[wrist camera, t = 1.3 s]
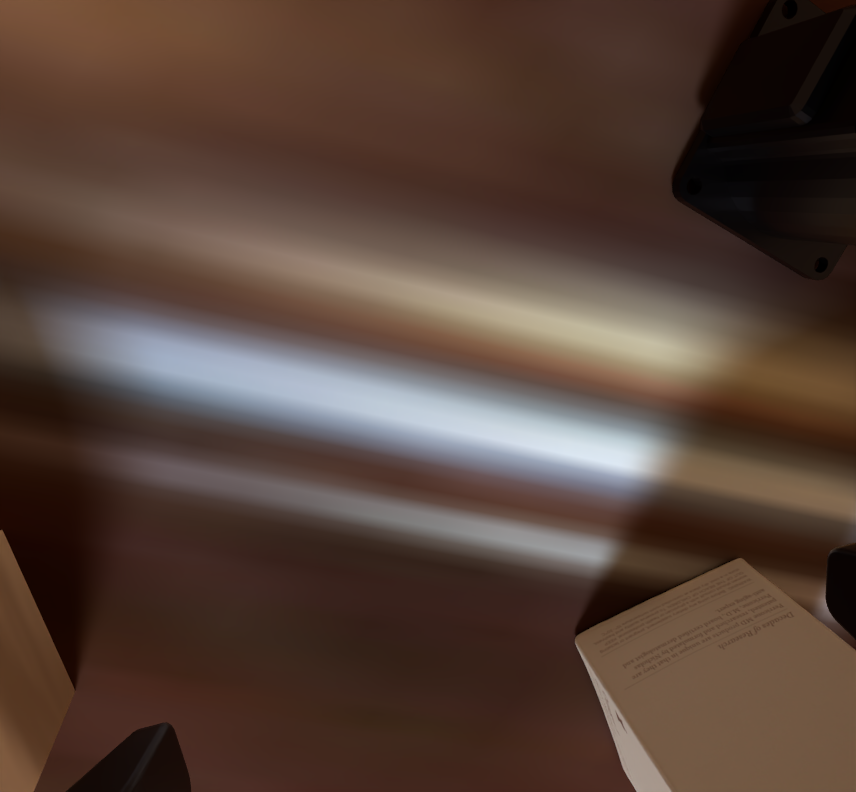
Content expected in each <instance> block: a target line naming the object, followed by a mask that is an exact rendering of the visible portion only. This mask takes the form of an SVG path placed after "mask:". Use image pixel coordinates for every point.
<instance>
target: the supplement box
mask: <svg viewBox="0 0 856 792" xmlns="http://www.w3.org/2000/svg"><path fill="white" fill-rule="evenodd" d="M575 644H576V646H577V648H578V650H579V653H580V655H581V657H582V659H583V661H584V663H585V666H586V668H587V670H588V673H589V675H590V677H591V680H592V682H593V685H594V687H595V690H596V692H597V695H598V698H599V700H600V703H601V706H602V708H603V711H604V714H605V716H606V719H607V722H608V725H609V728H610V730H611V733H612V736H613V739H614V742H615V745H616V748H617V751H618V754H619V757H620V760H621V764H622V767H623V769H624V771H625V773H626V774H627V776H628V778H629V780H630V781H631V783H632V784H633V786H634V788H635V789H636V791H637V792H856V650H855V649H853V648H852V647H851V646H850V645H848V644H847V643H846V642H845V641H843V640H842V639H841V638H840V637H839V636H837V635H836V634H835V633H834V632H833V631H831V630H830V629H829V628H827V627H826V626H825V625H824V624H822V623H821V622H820V621H819V620H817V619H816V618H815V617H814V616H812V615H811V614H810V613H809V612H808V611H806V610H805V609H804V608H803V607H801V606H800V605H799V604H798V603H796V602H795V601H794V600H793V599H792V598H790V597H789V596H788V595H787V594H786V593H784V592H783V591H782V590H780V589H779V588H778V587H777V586H776V585H774V584H773V583H772V582H770V581H769V580H768V579H766V578H765V577H764V576H763V575H761V574H760V573H759V572H758V571H756V570H755V569H754V568H753V567H752V566H750V565H749V564H748V563H747V562H746V561H745V560H744V559H742V558H737V559H735V560H733V561H731V562H728V563H726V564H724V565H722V566H720V567H718V568H715V569H713V570H711V571H709V572H707V573H705V574H702V575H700V576H698V577H696V578H694V579H692V580H690V581H688V582H686V583H684V584H681V585H679V586H677V587H675V588H673V589H671V590H669V591H667V592H665V593H663V594H660V595H658V596H656V597H654V598H651V599H649V600H647V601H645V602H643V603H641V604H639V605H637V606H635V607H633V608H631V609H629V610H627V611H624V612H622V613H620V614H618V615H616V616H614V617H612V618H610V619H608V620H606V621H604V622H601V623H599V624H597V625H595V626H593V627H591V628H589V629H588V630H586V631H584V632H582V633H580V634H579V635H577V636H576V638H575Z"/></svg>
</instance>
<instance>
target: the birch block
mask: <svg viewBox="0 0 856 792" xmlns="http://www.w3.org/2000/svg"><path fill="white" fill-rule="evenodd" d="M74 693H75V689H74V687H73V685H72V682H71V680H70V678H69V676H68V674H67V671H66V669H65V667H64V665H63V663H62V660H61V658H60V656H59V654H58V652H57V649H56V647H55V645H54V643H53V641H52V638H51V636H50V634H49V632H48V629H47V627H46V625H45V623H44V621H43V618H42V616H41V614H40V612H39V610H38V607H37V605H36V603H35V601H34V599H33V596H32V594H31V592H30V590H29V588H28V585H27V583H26V581H25V579H24V576H23V574H22V572H21V570H20V568H19V565H18V563H17V561H16V559H15V557H14V554H13V552H12V550H11V548H10V546H9V543H8V541H7V539H6V537H5V534H4V532H3V530H0V792H34V789H35V787H36V785H37V782H38V780H39V777H40V775H41V772H42V770H43V768H44V765H45V763H46V760H47V758H48V756H49V753H50V751H51V748H52V746H53V744H54V741H55V739H56V736H57V734H58V732H59V729H60V727H61V724H62V722H63V720H64V717H65V715H66V712H67V710H68V708H69V705H70V703H71V700H72V698H73V695H74Z"/></svg>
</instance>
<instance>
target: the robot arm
mask: <svg viewBox="0 0 856 792" xmlns="http://www.w3.org/2000/svg"><path fill="white" fill-rule="evenodd" d="M783 4H785V5H786V6H787V9H788V14H787V18H785V17H784V16H783V15H782V7H783ZM690 179H692V180H693V181H694V185H695V186H694V190H693V191H692V192H691V193H690V194H689V192H688V191H687V183H688V181H689V180H690ZM672 192H673V194H674V197H675V198H676V199H677V200H678V201H679V202H681V203H682V204H684V205H686V206H687V207H689V208H691V209H692V210H694V211H696V212H697V213H699V214H701V215H702V216H704V217H705V218H707V219H709V220H710V221H712V222H714V223H715V224H717V225H719V226H720V227H722V228H724V229H725V230H727V231H729V232H730V233H732V234H733V235H735V236H737V237H738V238H740V239H742V240H743V241H745V242H747V243H748V244H750V245H752V246H753V247H755V248H757V249H758V250H760V251H761V252H763V253H765V254H766V255H768V256H770V257H771V258H773V259H775V260H776V261H778V262H780V263H781V264H783V265H785V266H786V267H788V268H789V269H791V270H793V271H794V272H796V273H798V274H799V275H801V276H803V277H804V278H808V279H813V280H822V279H824V278H826V277H828V276H829V274H830V273H831V272H832V270H833V269H834V267H835V265H836V263H837V262H838V260H839V258H840V257H841V255H842V253H843V252H844V250H845V248H846V247H847V245H856V5H851V6H848V7H845V8H842V9H839V10H836V11H833V12H830V13H827V14H826V13H824V12H823V11H822V10H821V9H819V8H818V7H817V6H816V5H814V4H813V3H812V2H810V1H809V0H770V1H769V3H768V4H767V6H766V8H765V10H764V12H763V14H762V16H761V18H760V19H759V21H758V23H757V25H756V27H755V29H754V31H753V33H752V34H751V36H750V38H749V39H748V40H746V41H743V42H742V43H741V45H740V46H739V48H738V50H737V52H736V54H735V56H734V58H733V59H732V61H731V63H730V65H729V67H728V69H727V71H726V73H725V75H724V76H723V78H722V80H721V82H720V84H719V86H718V88H717V90H716V91H715V93H714V95H713V97H712V99H711V101H710V103H709V105H708V107H707V108H706V110H705V112H704V114H703V116H702V118H701V130H700V132H699V134H698V136H697V138H696V139H695V141H694V143H693V145H692V147H691V149H690V151H689V153H688V154H687V156H686V158H685V160H684V162H683V164H682V166H681V168H680V169H679V171H678V173H677V175H676V177H675V179H674V182H673V185H672ZM817 259H819V265H818V267H817V269H816V270H815V268H814V265H815V262H816V260H817ZM826 603H827V607H828V609H829V611H830V613H831V614H832V616H833V618H834V619H835V620H836V621H837V622H838V623H839V624H840V625H841V626H842V627H843V628H844V629H845V630H846V631H847V632H848V633H849V634H850V635H851V636H852V637H853V638H854V639H855V640H856V543H852V544H848V545H844V546H840V547H836V548H834V549H832V550H831V551H830V553H829V555H828V558H827V576H826ZM66 792H191V784H190V777H189V773H188V770H187V767H186V764H185V760H184V757H183V754H182V751H181V748H180V745H179V742H178V739H177V736H176V733H175V730H174V728H173V727H172V725H170V724H169V723H161V724H157V725H153V726H149V727H145V728H141V729H138V730H136V731H135V732H133V733H132V734H131V735H130V736H129V737H127V738H126V739H125V740H124V741H123V742H122V743H121V744H119V745H118V746H117V747H116V748H115V749H114V750H113V751H111V752H110V753H109V754H108V755H107V756H106V757H105V758H104V759H102V760H101V761H100V762H99V763H98V764H97V765H96V766H94V767H93V768H92V769H91V770H90V771H89V772H88V773H86V774H85V775H84V776H83V777H82V778H81V779H80V780H78V781H77V782H76V783H75V784H74V785H73V786H72V787H71V788H69V789H68V790H67V791H66Z"/></svg>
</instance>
